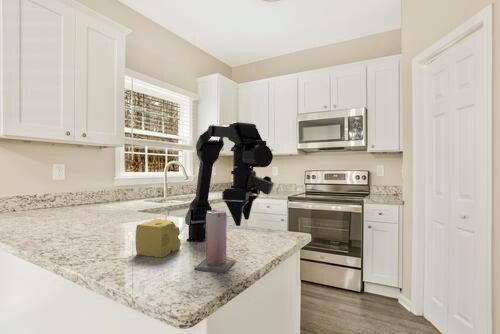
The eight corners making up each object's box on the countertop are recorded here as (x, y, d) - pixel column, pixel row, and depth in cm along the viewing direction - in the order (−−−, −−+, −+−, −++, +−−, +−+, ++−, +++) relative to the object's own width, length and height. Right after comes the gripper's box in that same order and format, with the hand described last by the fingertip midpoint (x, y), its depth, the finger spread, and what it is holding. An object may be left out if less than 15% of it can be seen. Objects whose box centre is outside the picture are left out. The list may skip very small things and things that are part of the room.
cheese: (180, 249, 95) (180, 220, 95) (161, 259, 85) (161, 226, 85) (155, 246, 99) (155, 218, 99) (133, 255, 89) (134, 224, 89)
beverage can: (206, 259, 83) (207, 209, 83) (226, 259, 83) (226, 209, 83) (204, 266, 77) (205, 213, 77) (226, 266, 77) (226, 213, 77)
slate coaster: (194, 269, 76) (194, 267, 76) (207, 259, 85) (207, 257, 85) (225, 273, 74) (225, 270, 74) (234, 262, 83) (234, 259, 83)
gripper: (265, 167, 67) (264, 231, 67) (276, 167, 85) (275, 218, 85) (221, 167, 69) (221, 228, 69) (241, 167, 88) (241, 216, 88)
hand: (242, 222), depth 78 cm, fingers open, 9 cm apart
